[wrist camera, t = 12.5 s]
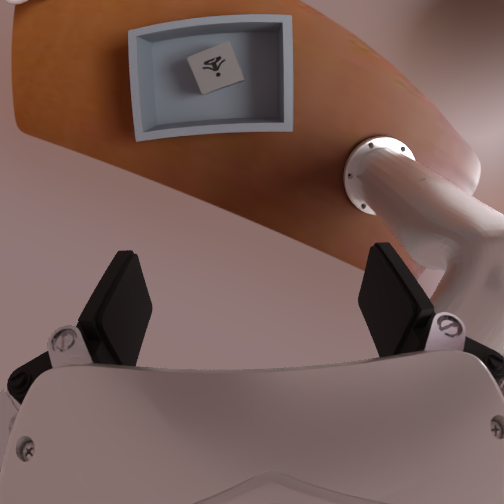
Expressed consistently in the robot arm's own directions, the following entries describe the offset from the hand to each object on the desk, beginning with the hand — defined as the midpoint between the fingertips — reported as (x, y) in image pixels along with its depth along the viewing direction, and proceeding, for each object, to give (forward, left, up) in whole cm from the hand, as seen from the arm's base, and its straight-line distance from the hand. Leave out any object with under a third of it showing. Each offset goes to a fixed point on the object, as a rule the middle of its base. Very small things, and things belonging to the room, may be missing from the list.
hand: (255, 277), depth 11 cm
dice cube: (+3, -10, -30) cm, 31 cm away
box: (+4, -9, -30) cm, 32 cm away
